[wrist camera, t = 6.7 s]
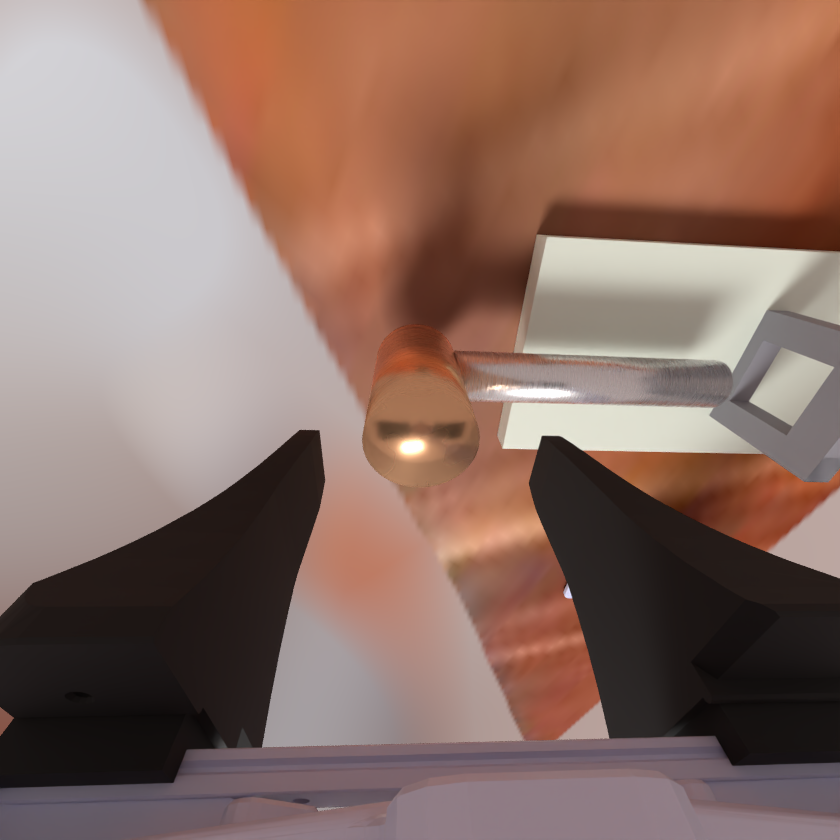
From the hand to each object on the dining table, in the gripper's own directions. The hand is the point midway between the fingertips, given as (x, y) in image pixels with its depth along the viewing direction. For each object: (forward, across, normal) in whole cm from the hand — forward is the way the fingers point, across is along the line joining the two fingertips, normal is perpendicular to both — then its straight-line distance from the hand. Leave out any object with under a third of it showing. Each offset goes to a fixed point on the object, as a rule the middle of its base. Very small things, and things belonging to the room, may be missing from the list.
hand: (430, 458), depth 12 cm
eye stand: (+10, -16, 0) cm, 19 cm away
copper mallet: (+8, -6, 0) cm, 10 cm away
